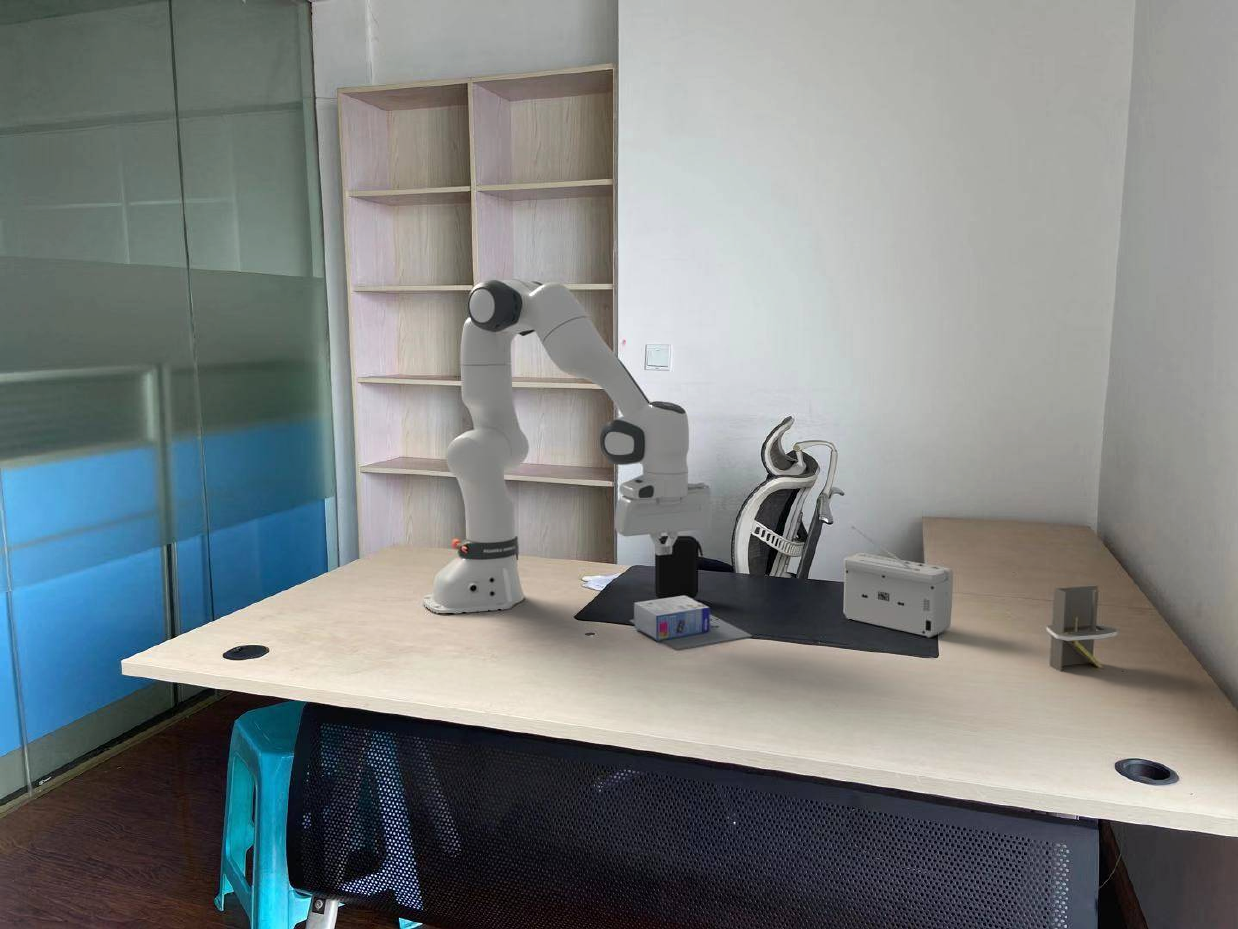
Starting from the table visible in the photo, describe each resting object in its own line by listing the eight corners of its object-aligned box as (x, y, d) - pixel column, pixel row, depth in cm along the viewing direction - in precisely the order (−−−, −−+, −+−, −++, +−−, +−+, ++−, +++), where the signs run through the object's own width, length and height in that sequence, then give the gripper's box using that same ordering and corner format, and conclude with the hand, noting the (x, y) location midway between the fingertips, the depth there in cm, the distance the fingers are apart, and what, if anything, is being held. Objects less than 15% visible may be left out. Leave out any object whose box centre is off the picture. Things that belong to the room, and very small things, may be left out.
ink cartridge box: (657, 643, 181) (720, 630, 187) (656, 616, 180) (720, 604, 186) (633, 628, 189) (694, 616, 196) (633, 602, 188) (694, 591, 195)
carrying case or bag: (701, 598, 212) (702, 534, 209) (703, 601, 208) (703, 537, 206) (654, 598, 211) (654, 534, 209) (655, 602, 208) (655, 537, 206)
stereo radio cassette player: (952, 631, 187) (956, 533, 184) (934, 641, 181) (938, 540, 178) (857, 611, 201) (860, 519, 198) (838, 619, 195) (840, 525, 192)
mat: (677, 650, 177) (677, 648, 177) (629, 621, 195) (629, 620, 194) (752, 637, 184) (752, 635, 184) (699, 610, 202) (699, 609, 202)
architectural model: (1180, 683, 160) (1187, 600, 158) (1052, 696, 154) (1058, 610, 152) (1098, 645, 179) (1103, 571, 177) (982, 656, 174) (986, 579, 171)
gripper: (702, 479, 190) (700, 546, 192) (611, 485, 181) (610, 555, 183) (719, 484, 185) (716, 552, 187) (626, 491, 176) (625, 562, 178)
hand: (663, 554), depth 185 cm, fingers closed
